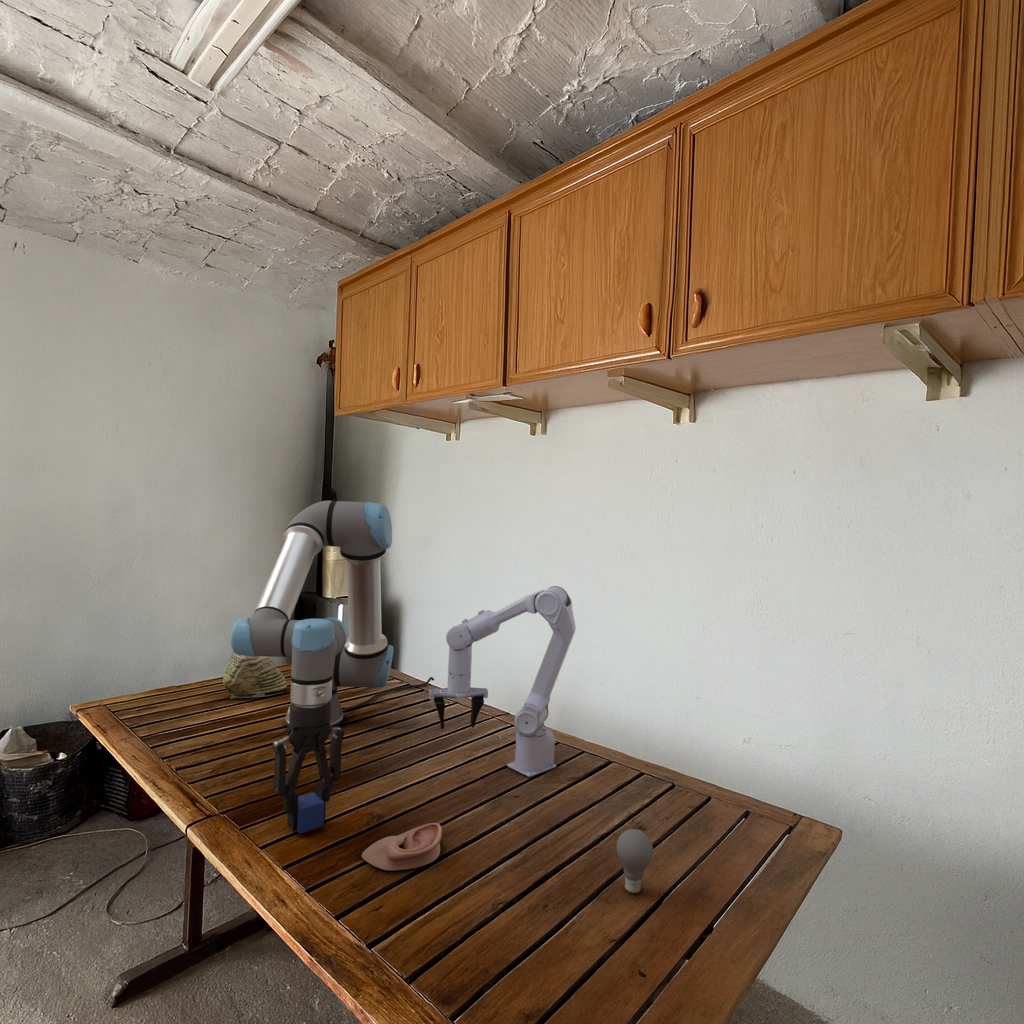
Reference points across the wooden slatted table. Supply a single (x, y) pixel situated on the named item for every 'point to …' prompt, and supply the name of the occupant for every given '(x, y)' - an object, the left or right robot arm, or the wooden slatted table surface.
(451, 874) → the wooden slatted table surface
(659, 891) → the wooden slatted table surface
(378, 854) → the anatomical model
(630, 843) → the light bulb
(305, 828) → the blue cube
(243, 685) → the fossil
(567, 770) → the wooden slatted table surface
